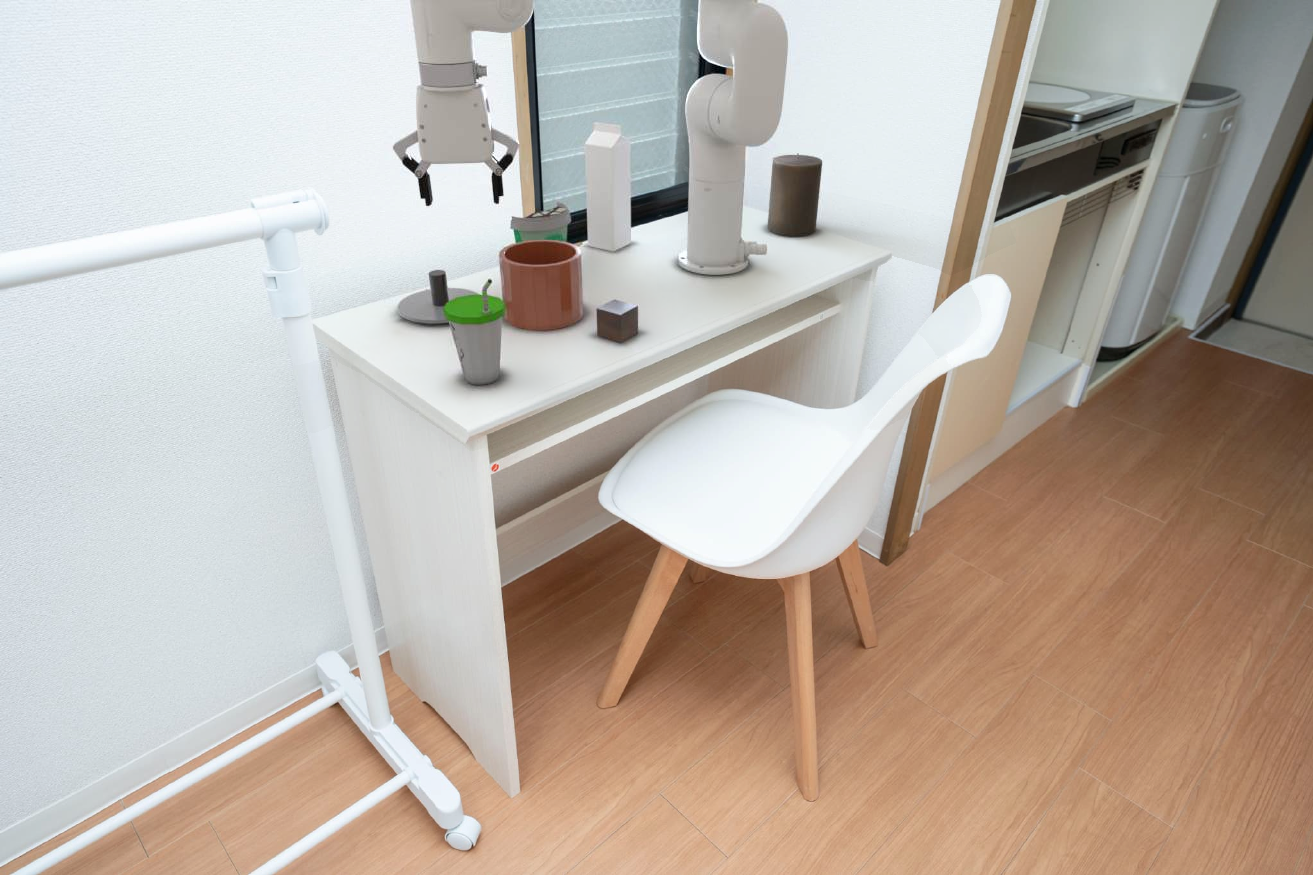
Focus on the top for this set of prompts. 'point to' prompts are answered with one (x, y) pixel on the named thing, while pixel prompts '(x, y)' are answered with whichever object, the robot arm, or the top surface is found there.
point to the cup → (477, 334)
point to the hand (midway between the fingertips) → (463, 202)
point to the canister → (541, 284)
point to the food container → (542, 225)
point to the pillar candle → (794, 194)
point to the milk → (608, 187)
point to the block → (617, 320)
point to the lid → (431, 300)
